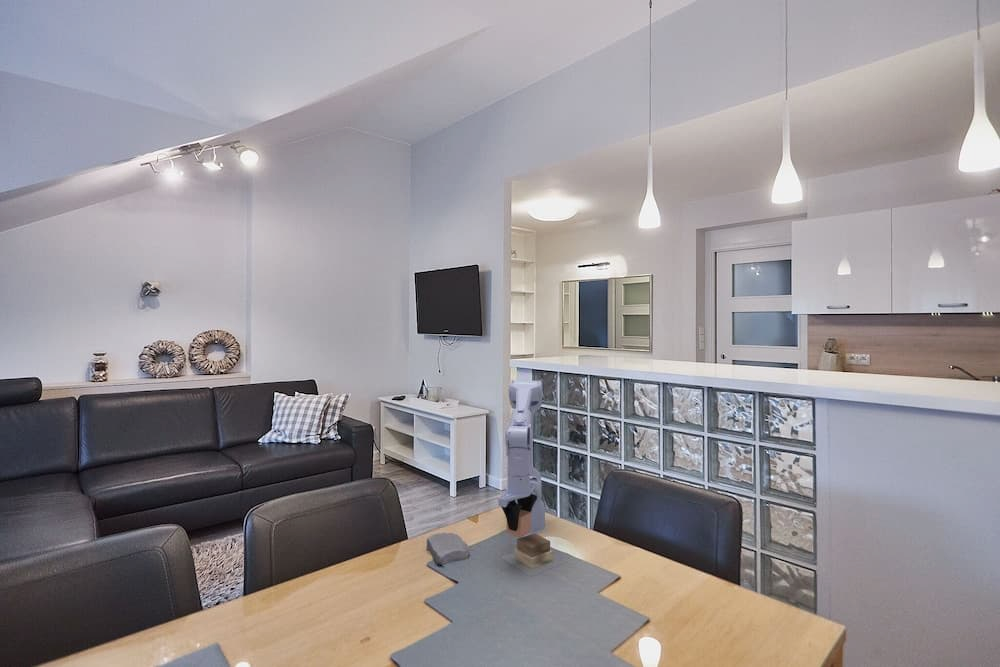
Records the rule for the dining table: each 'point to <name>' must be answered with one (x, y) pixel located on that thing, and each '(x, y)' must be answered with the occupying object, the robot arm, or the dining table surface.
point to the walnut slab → (533, 545)
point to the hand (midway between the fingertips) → (518, 526)
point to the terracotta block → (522, 524)
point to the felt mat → (535, 570)
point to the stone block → (447, 547)
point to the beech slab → (533, 558)
